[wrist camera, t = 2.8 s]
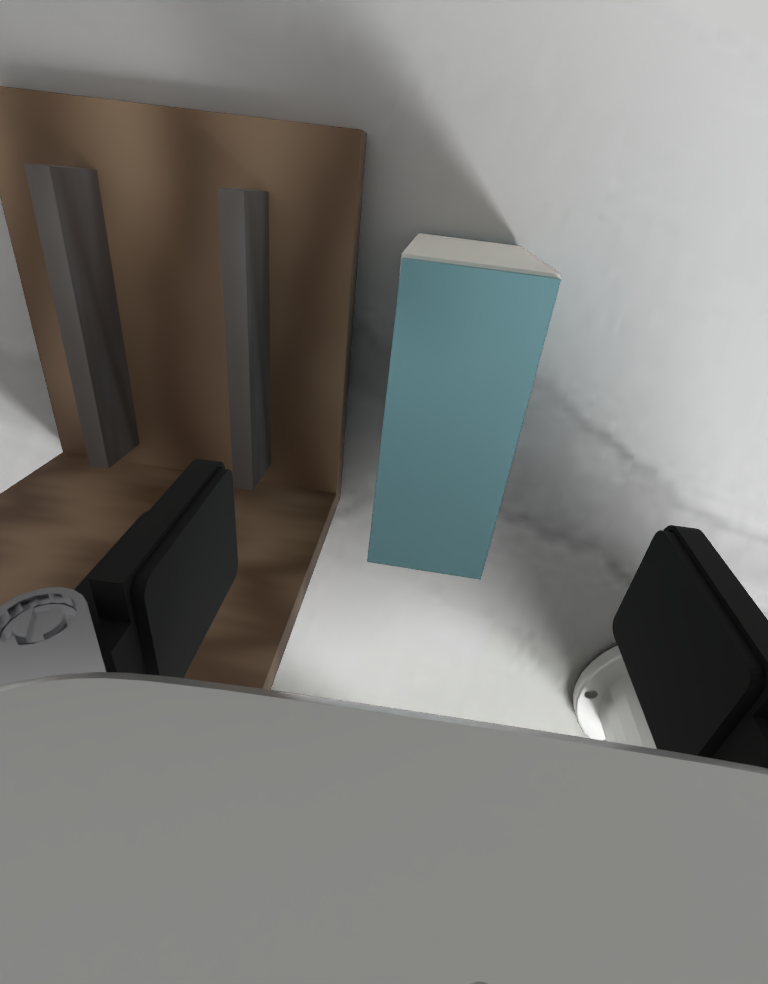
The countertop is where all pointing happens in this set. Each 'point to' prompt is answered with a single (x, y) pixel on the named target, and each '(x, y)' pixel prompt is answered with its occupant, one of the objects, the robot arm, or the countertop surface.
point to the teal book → (456, 398)
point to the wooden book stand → (183, 340)
